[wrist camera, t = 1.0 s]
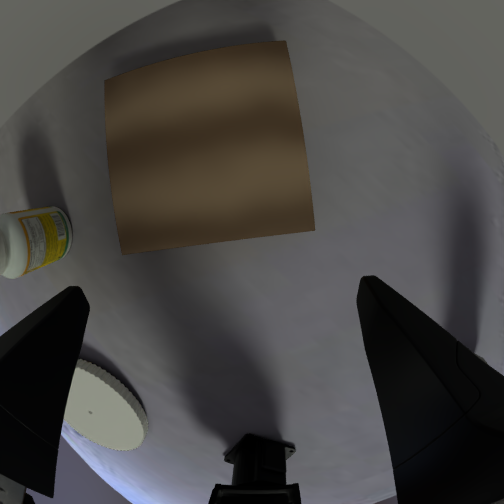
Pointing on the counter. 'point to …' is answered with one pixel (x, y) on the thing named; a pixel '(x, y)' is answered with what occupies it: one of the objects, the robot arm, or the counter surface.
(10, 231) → the supplement bottle
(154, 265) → the counter surface
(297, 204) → the walnut plinth
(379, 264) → the counter surface
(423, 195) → the counter surface
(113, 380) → the plastic lid
